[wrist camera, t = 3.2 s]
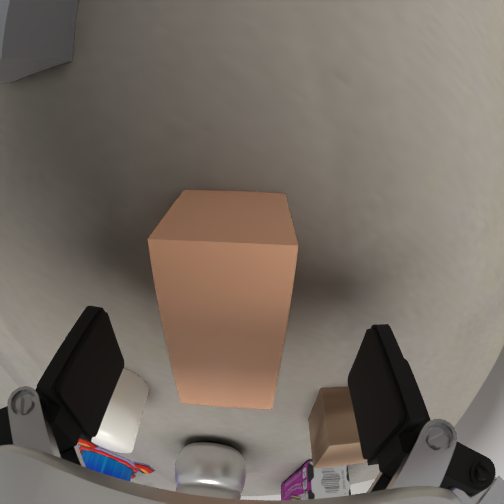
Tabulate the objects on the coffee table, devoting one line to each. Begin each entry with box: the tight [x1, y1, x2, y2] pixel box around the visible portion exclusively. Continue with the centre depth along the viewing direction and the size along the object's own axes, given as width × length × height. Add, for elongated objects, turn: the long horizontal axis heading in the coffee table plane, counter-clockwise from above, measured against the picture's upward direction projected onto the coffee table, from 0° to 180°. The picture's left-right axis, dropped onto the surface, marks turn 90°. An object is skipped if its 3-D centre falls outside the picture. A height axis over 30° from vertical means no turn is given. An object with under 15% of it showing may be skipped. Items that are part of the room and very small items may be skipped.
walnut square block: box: [308, 387, 367, 468], centre depth 17 cm, size 4×4×4 cm
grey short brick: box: [0, 0, 79, 83], centre depth 5 cm, size 6×4×4 cm, turn 178°
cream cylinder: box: [91, 368, 149, 453], centre depth 16 cm, size 4×4×5 cm
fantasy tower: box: [77, 439, 155, 481], centre depth 24 cm, size 12×12×12 cm
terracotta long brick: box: [148, 190, 299, 409], centre depth 12 cm, size 8×4×4 cm, turn 178°
